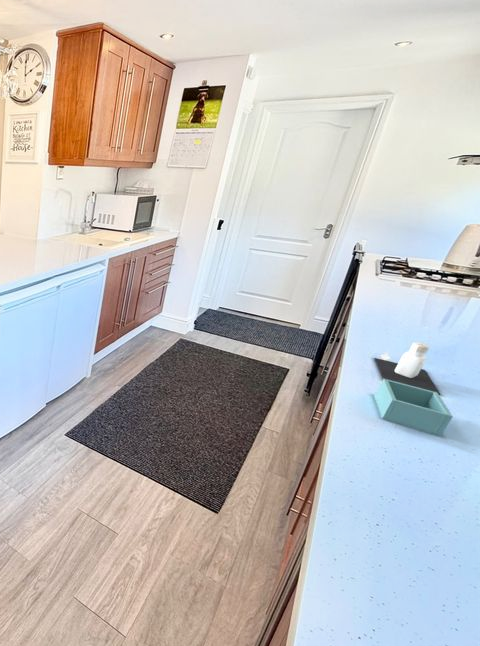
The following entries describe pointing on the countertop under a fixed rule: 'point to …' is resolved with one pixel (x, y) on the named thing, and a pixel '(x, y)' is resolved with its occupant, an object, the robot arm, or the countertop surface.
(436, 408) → the bin
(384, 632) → the countertop surface
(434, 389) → the mat
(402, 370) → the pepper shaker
